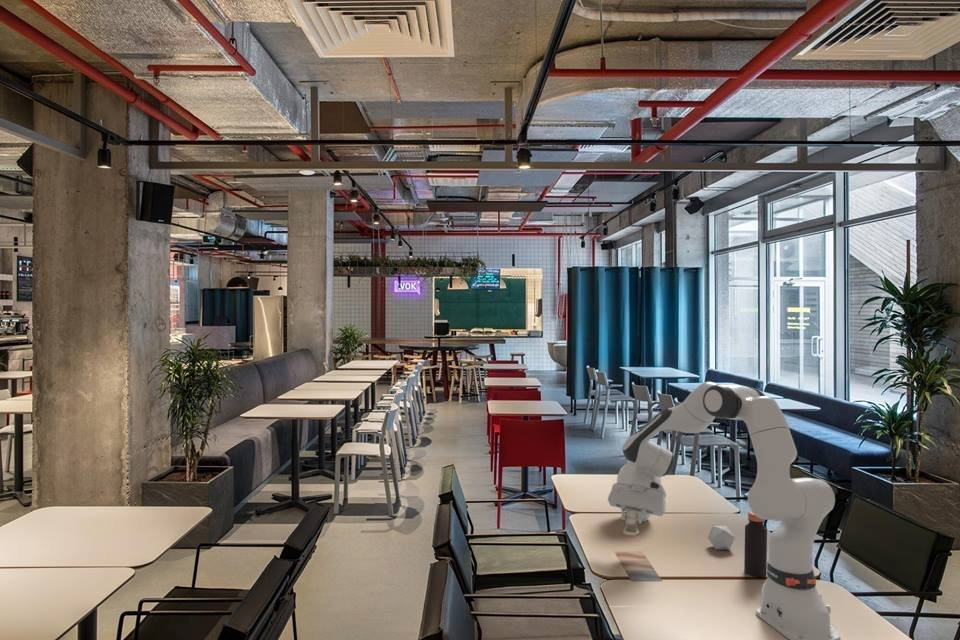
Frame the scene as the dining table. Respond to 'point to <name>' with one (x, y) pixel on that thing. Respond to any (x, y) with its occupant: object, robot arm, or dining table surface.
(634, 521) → the pawn
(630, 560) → the game board
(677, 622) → the dining table surface
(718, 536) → the die
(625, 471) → the vase
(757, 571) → the bottle
